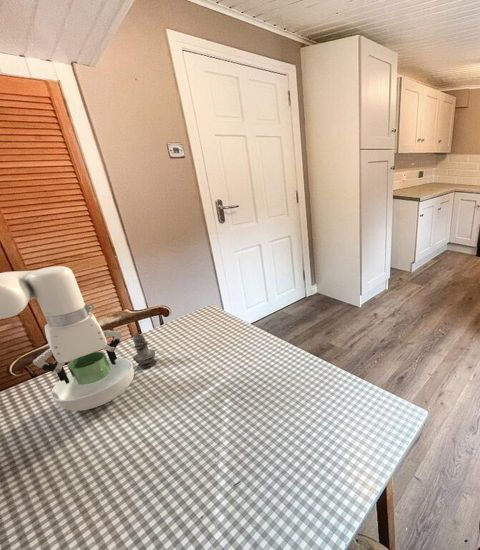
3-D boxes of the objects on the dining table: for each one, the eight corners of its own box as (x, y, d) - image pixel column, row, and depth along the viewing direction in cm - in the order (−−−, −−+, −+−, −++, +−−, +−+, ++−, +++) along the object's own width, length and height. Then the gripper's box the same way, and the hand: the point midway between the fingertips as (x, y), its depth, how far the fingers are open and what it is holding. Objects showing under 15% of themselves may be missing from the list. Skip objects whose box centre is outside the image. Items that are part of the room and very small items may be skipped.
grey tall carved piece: (141, 372, 94) (130, 339, 89) (132, 366, 97) (121, 334, 92) (161, 362, 99) (151, 330, 94) (152, 356, 101) (142, 325, 97)
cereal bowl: (119, 369, 95) (112, 351, 92) (151, 386, 88) (144, 366, 86) (48, 407, 81) (37, 386, 78) (80, 430, 74) (69, 409, 72)
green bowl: (70, 389, 78) (62, 371, 76) (83, 371, 84) (76, 354, 82) (105, 382, 80) (98, 365, 78) (115, 365, 86) (109, 348, 84)
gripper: (107, 299, 83) (125, 351, 90) (15, 324, 71) (44, 382, 77) (115, 307, 79) (133, 361, 85) (18, 336, 67) (48, 396, 73)
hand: (91, 371), depth 81 cm, fingers open, 9 cm apart
